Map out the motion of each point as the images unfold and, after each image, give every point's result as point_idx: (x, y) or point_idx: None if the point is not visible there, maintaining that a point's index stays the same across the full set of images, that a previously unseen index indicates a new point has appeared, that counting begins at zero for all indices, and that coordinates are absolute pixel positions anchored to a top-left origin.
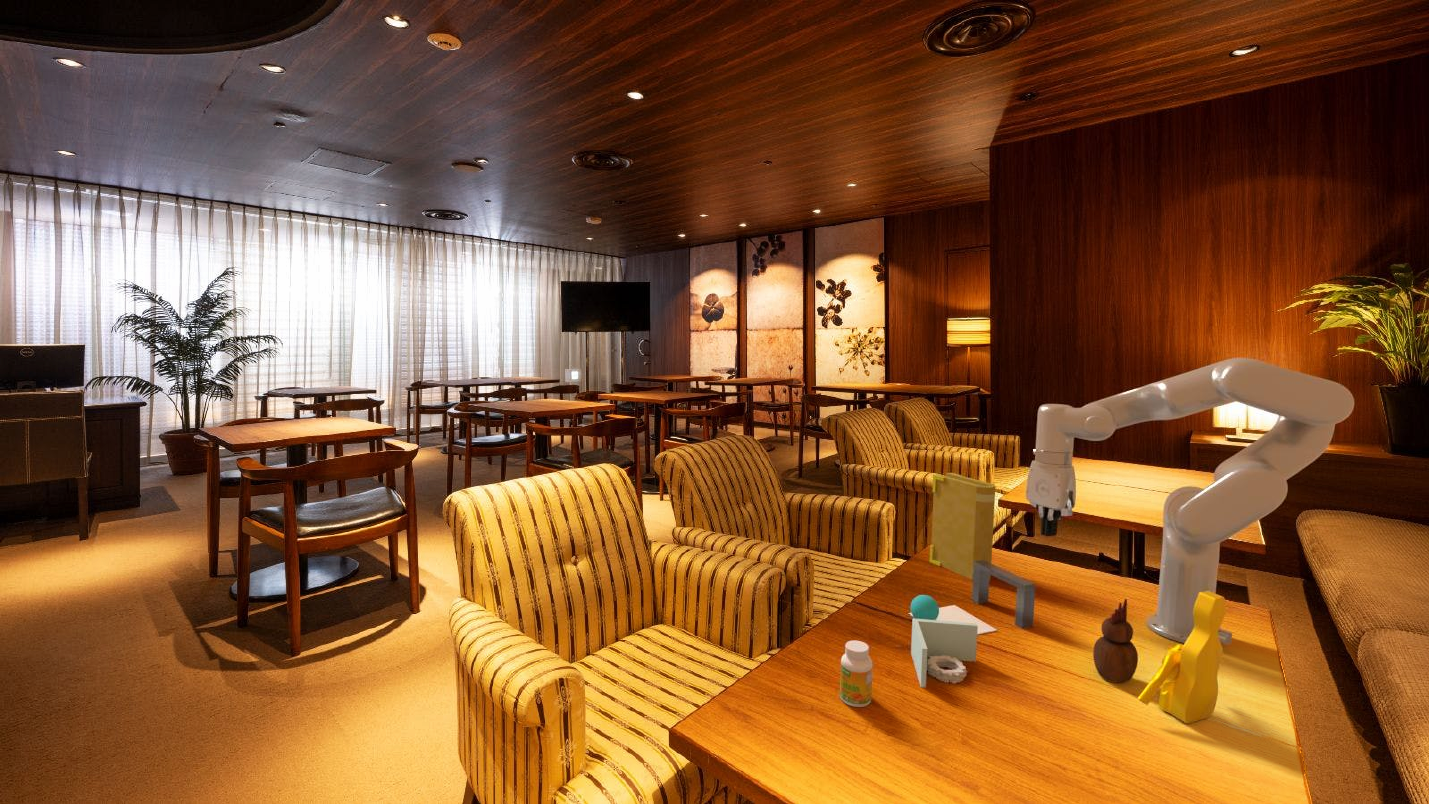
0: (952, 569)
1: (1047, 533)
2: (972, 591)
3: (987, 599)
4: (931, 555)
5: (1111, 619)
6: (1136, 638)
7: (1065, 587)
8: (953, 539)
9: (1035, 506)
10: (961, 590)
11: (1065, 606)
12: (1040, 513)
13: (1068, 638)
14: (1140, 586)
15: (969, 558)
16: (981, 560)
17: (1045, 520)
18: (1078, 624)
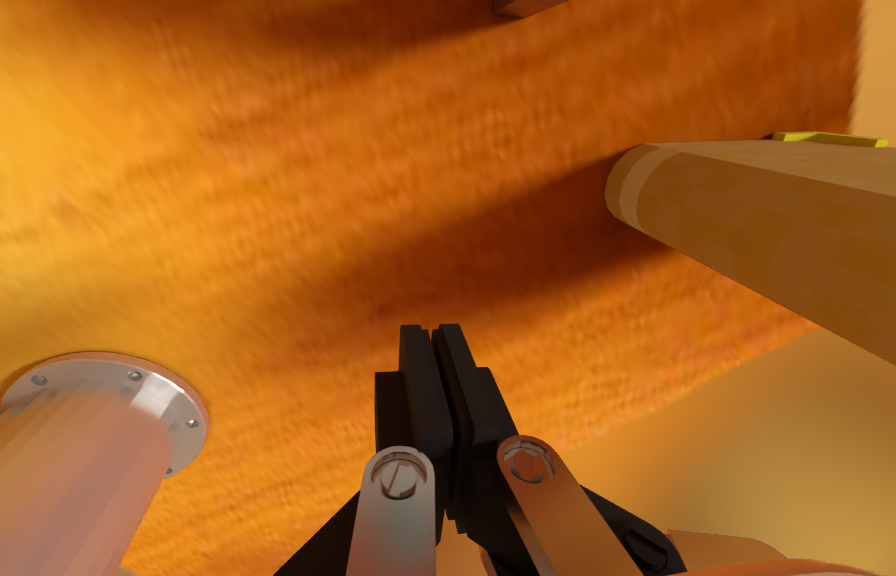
0: (729, 142)
1: (402, 344)
2: None
3: (497, 6)
4: (836, 135)
5: None
6: (89, 272)
7: None
8: (857, 161)
9: (679, 542)
10: (616, 10)
11: (357, 263)
12: (554, 478)
13: (113, 25)
14: None
15: (717, 154)
16: (673, 175)
17: (443, 422)
18: (225, 184)
